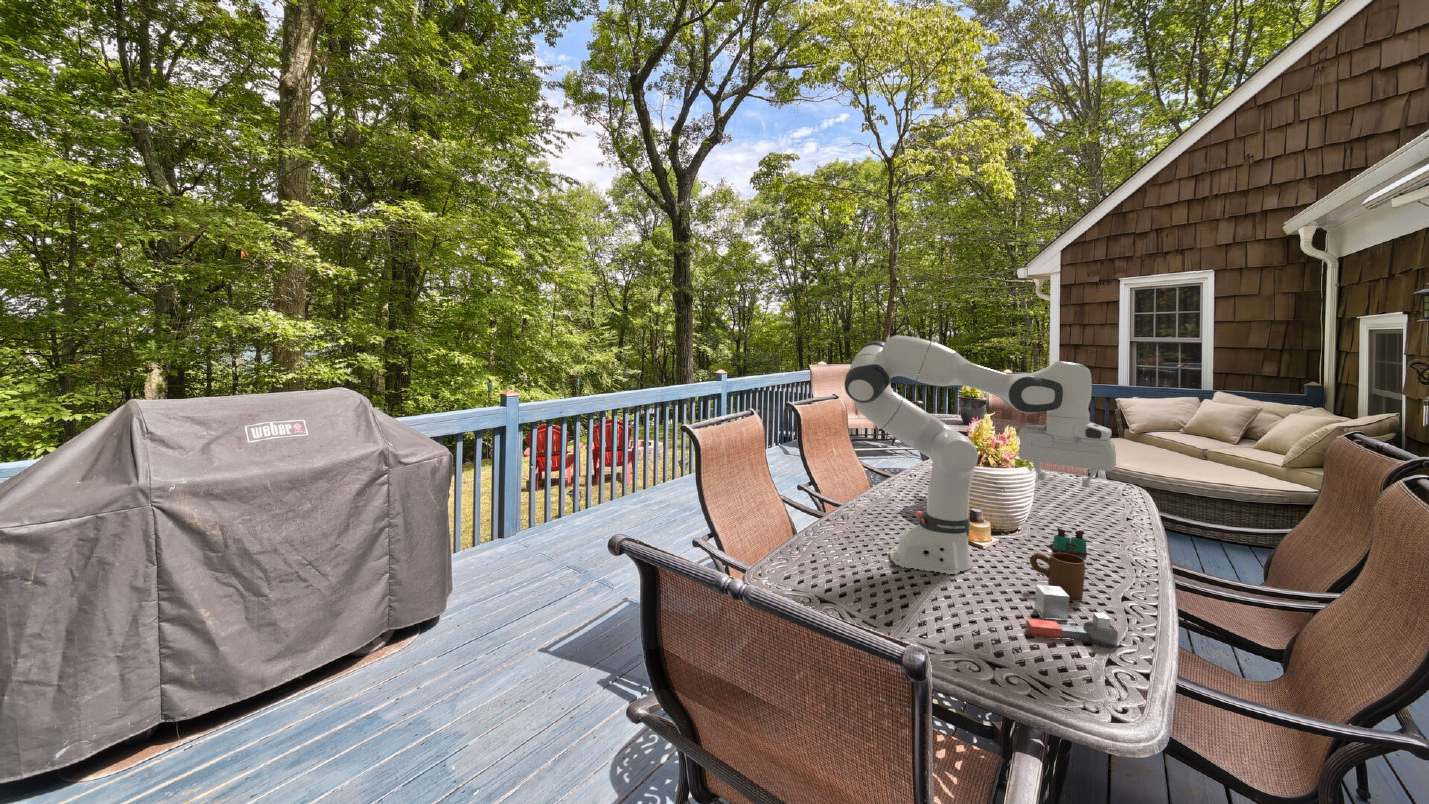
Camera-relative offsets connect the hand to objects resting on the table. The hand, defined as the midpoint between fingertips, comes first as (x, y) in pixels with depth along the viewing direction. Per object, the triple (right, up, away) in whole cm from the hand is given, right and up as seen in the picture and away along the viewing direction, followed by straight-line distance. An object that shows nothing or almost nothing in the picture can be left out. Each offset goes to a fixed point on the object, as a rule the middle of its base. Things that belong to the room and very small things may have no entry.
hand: (1063, 482), depth 134 cm
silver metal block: (-7, -30, -7) cm, 32 cm away
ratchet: (-9, -31, -17) cm, 36 cm away
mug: (+2, -29, +6) cm, 30 cm away
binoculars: (+17, -27, +25) cm, 40 cm away
